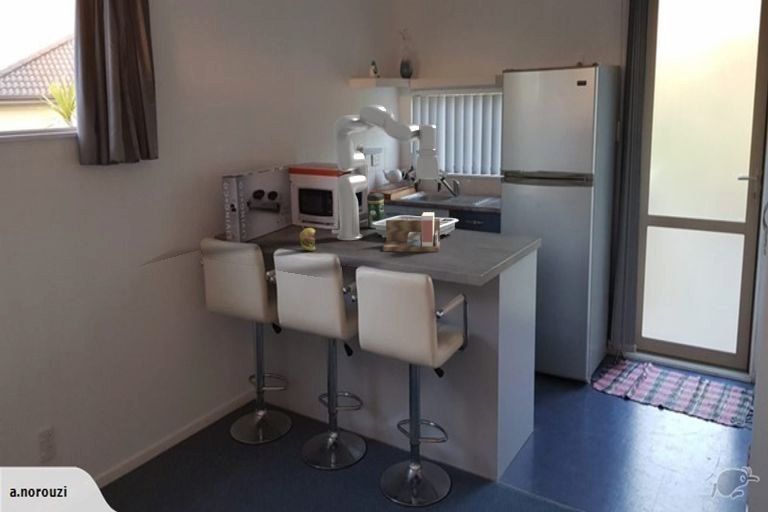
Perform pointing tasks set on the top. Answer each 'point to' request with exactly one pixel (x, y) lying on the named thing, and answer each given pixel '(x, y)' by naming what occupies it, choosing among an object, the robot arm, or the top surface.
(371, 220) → the coffee jar
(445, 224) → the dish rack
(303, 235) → the hamburger
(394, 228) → the shelf
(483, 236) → the top surface
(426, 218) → the boxed book
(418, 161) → the robot arm
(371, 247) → the top surface
